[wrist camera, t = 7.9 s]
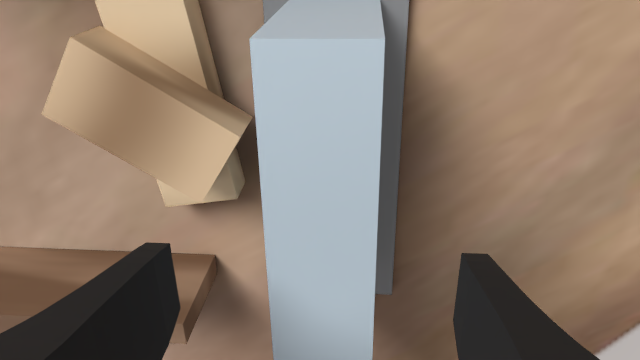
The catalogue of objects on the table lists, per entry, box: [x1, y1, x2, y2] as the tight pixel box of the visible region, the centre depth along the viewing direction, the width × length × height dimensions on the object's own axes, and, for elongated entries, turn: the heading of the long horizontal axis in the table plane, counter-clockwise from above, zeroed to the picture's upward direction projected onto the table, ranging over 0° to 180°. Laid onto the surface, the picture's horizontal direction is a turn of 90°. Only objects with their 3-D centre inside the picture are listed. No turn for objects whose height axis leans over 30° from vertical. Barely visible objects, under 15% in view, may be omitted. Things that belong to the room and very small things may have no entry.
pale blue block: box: [250, 0, 385, 360], centre depth 17 cm, size 11×3×7 cm, turn 1°
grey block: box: [263, 0, 409, 295], centre depth 20 cm, size 14×5×1 cm, turn 1°
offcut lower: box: [95, 0, 245, 207], centre depth 20 cm, size 8×3×2 cm, turn 10°
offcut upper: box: [42, 26, 253, 204], centre depth 18 cm, size 6×3×2 cm, turn 59°
